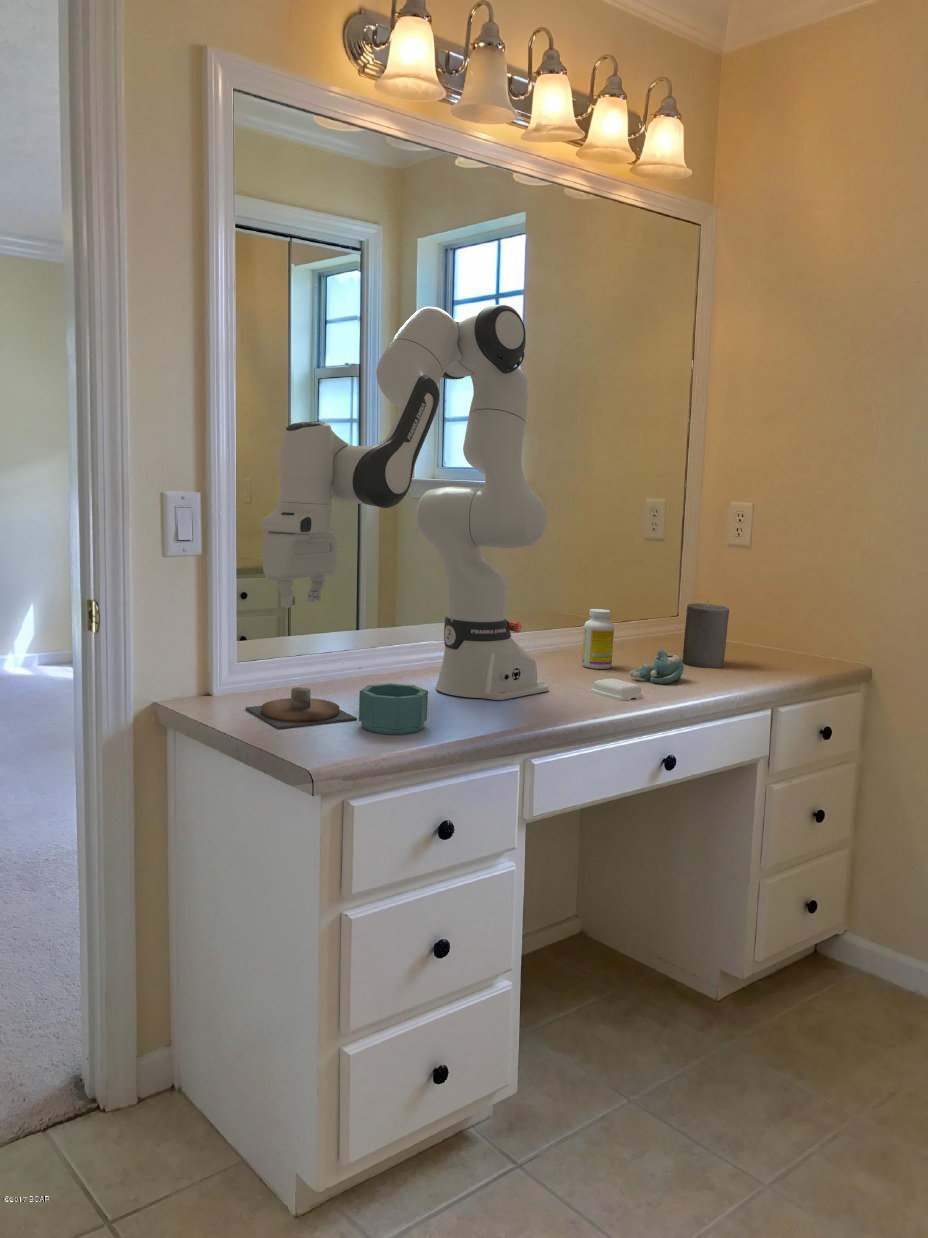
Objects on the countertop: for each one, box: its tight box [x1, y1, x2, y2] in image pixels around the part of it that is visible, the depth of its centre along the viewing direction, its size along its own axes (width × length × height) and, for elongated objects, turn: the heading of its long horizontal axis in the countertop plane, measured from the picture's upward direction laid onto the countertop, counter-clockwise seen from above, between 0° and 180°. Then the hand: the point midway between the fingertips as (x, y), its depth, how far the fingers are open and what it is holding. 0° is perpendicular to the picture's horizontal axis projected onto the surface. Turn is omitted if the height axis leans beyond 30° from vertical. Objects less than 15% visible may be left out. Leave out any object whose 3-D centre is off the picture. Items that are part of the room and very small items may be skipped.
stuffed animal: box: [629, 648, 685, 685], centre depth 207 cm, size 11×7×12 cm
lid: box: [260, 686, 340, 722], centre depth 165 cm, size 13×13×4 cm
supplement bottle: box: [581, 608, 615, 670], centre depth 218 cm, size 7×7×13 cm
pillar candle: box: [682, 600, 730, 669], centre depth 227 cm, size 10×10×15 cm
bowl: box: [358, 682, 429, 736], centre depth 160 cm, size 10×10×6 cm
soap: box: [590, 677, 644, 702], centre depth 192 cm, size 9×7×3 cm
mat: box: [245, 705, 358, 730], centre depth 165 cm, size 14×14×1 cm
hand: (301, 604), depth 162 cm, fingers open, 8 cm apart
